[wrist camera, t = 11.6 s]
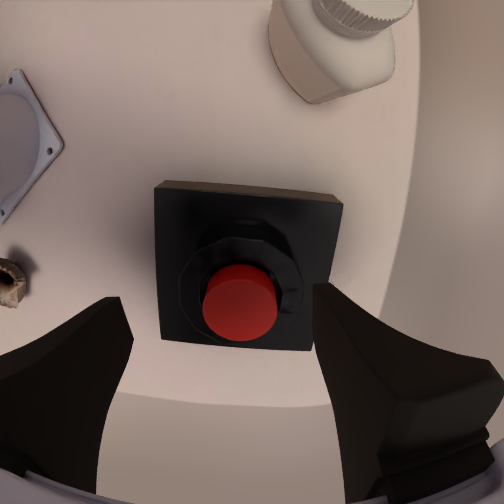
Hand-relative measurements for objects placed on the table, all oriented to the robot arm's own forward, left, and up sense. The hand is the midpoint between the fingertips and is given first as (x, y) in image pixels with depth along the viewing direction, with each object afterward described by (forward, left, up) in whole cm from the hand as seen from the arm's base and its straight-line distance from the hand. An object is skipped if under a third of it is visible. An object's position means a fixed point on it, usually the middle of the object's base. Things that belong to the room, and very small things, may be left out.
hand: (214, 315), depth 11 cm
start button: (0, -2, -5) cm, 5 cm away
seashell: (-17, +8, -9) cm, 21 cm away
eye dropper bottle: (+9, +7, -9) cm, 14 cm away
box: (0, -2, -9) cm, 9 cm away
